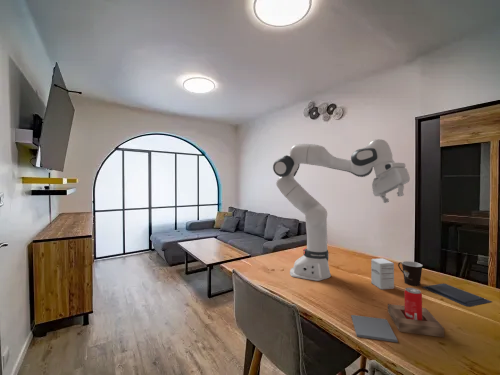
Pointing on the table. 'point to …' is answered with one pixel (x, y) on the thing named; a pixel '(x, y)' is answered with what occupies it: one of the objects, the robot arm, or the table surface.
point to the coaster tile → (373, 328)
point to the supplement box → (382, 273)
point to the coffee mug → (411, 272)
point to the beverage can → (413, 304)
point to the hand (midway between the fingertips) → (393, 199)
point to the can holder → (415, 322)
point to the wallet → (457, 295)
